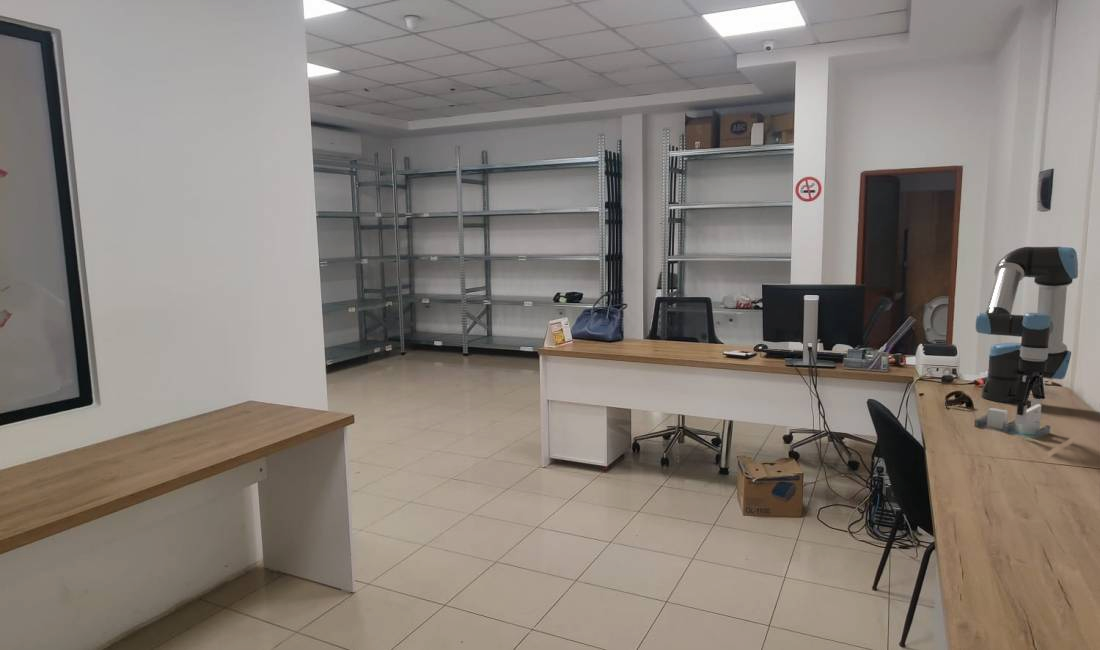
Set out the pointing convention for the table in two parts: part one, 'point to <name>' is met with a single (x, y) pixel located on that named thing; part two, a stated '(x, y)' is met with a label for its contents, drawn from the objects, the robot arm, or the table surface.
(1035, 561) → the table surface
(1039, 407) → the white wedge bracket
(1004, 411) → the white rectangular block
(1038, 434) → the two-compartment cubby shelf
